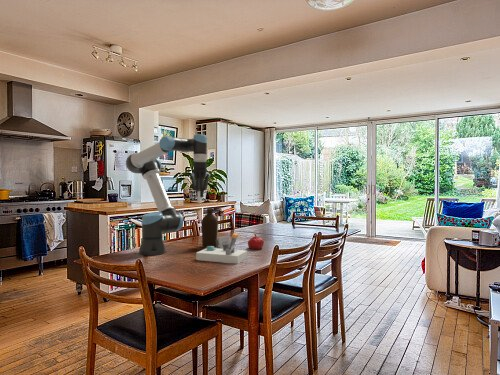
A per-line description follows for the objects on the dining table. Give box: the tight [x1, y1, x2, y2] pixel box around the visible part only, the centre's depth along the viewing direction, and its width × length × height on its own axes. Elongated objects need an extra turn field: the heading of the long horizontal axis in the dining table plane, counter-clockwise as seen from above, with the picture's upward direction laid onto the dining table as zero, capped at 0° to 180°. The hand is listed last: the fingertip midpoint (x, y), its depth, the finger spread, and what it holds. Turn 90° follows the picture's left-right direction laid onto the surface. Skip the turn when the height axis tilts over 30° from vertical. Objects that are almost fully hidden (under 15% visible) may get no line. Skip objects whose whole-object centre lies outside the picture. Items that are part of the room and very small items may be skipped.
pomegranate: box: [247, 233, 264, 250], centre depth 213 cm, size 10×10×9 cm
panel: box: [195, 247, 248, 265], centre depth 185 cm, size 24×14×7 cm, turn 70°
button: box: [207, 246, 215, 251], centre depth 189 cm, size 4×4×5 cm
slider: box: [223, 244, 229, 250], centre depth 188 cm, size 2×3×3 cm
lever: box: [229, 232, 240, 252], centre depth 179 cm, size 2×4×10 cm, turn 160°
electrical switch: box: [215, 235, 231, 249], centre depth 203 cm, size 9×5×9 cm, turn 141°
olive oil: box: [200, 207, 219, 249], centre depth 219 cm, size 11×11×25 cm
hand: (199, 202), depth 195 cm, fingers closed
